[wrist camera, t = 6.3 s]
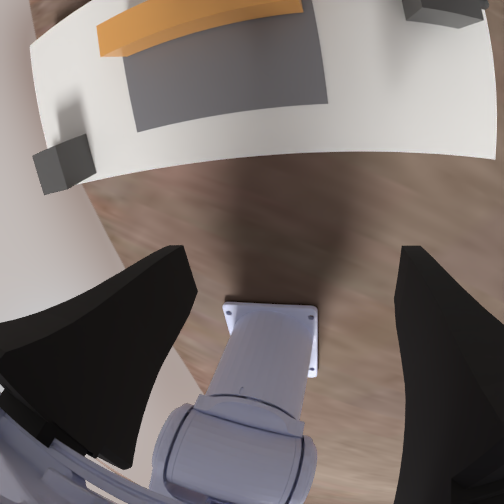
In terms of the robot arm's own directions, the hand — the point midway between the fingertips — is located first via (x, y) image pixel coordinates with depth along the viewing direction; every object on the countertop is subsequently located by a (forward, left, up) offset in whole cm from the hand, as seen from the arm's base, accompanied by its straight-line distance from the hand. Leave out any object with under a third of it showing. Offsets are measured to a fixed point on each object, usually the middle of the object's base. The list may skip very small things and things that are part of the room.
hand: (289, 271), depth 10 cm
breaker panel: (+9, +4, -10) cm, 14 cm away
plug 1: (+4, +16, -7) cm, 18 cm away
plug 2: (+11, -7, -7) cm, 15 cm away
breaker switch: (+11, +4, -7) cm, 13 cm away
